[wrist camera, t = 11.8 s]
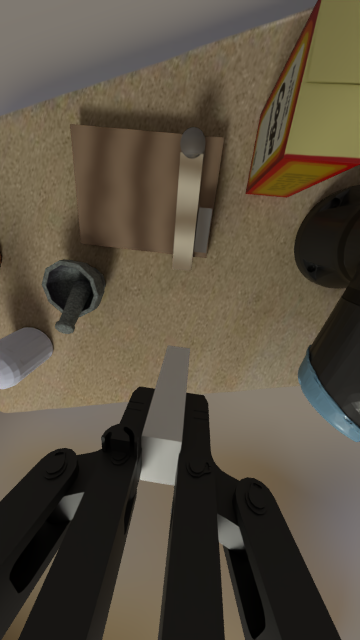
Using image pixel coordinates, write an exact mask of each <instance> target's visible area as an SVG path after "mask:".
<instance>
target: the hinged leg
mask: <svg viewBox="0 0 360 640" xmlns="http://www.w3.org/2000/svg"><path fill="white" fill-rule="evenodd" d="M180 146H181V151H182V152H180V166H179V180H178V194H177V208H176V222H175V236H174V250H173V264H172V269H174V270H183V271H191V268H192V259H193V250H194V241H195V232H196V223H197V213H198V204H199V195H200V186H201V177H202V168H203V158H204V155H205V136H204V134H203V132H202V131H201V130H200V129H199V128H196V127H191V128H188V129H187V130H186V131H185V132H184V133H183V135H182V137H181V142H180Z"/></svg>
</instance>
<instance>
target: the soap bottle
mask: <svg viewBox="0 0 360 640" xmlns="http://www.w3.org/2000/svg"><path fill="white" fill-rule="evenodd" d="M52 352H53V345H52V343H51V341H50V339H49V338H48V337H47V335H46V334H45V333H43V332H42V331H40V330H38V329H35V328H32V327H24V328H22V329H19V330H17V331H15V332H13V333H11V334H9V335H8V336H6V337H4V338H2V339H0V389H6V388H9V387H12V386H14V385H16V384H17V383H19V382H20V381H21V380H22V379H24V378H25V377H26V376H27V375H29V374H30V373H31V372H32V371H34V370H35V369H36V368H37V367H39V366H40V365H41V364H42V363H44V362H45V361H46V360H47V359H48V358H49V357H50V356H51V355H52Z"/></svg>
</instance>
